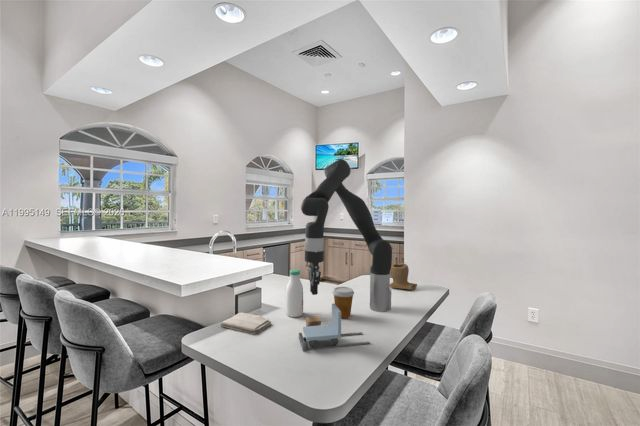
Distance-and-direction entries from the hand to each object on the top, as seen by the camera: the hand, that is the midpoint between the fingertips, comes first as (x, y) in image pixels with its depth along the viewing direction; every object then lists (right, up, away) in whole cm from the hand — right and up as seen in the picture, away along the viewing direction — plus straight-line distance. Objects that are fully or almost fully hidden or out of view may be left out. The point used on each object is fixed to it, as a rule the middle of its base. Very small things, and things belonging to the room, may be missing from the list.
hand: (313, 293), depth 117 cm
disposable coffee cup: (+13, -15, +17) cm, 26 cm away
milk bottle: (-9, -15, +18) cm, 25 cm away
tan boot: (+51, -14, +61) cm, 81 cm away
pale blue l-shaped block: (+3, -15, -9) cm, 18 cm away
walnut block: (0, -15, +1) cm, 15 cm away
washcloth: (-28, -15, +6) cm, 32 cm away
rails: (+8, -15, -8) cm, 19 cm away
